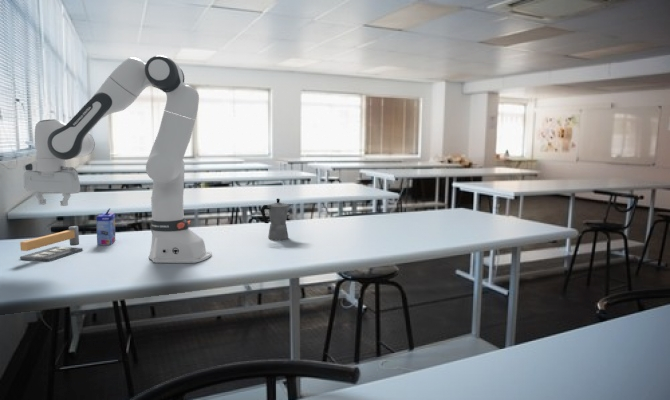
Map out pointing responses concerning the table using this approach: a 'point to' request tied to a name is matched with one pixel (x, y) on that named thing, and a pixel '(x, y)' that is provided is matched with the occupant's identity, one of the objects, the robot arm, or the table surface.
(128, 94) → the robot arm
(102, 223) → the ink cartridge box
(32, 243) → the hammer
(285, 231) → the coffeepot
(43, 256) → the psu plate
